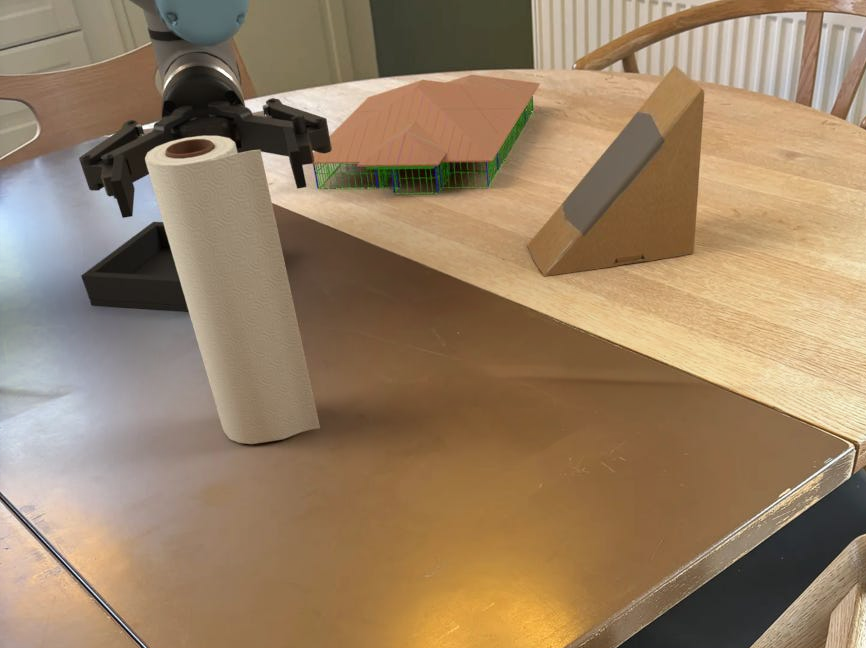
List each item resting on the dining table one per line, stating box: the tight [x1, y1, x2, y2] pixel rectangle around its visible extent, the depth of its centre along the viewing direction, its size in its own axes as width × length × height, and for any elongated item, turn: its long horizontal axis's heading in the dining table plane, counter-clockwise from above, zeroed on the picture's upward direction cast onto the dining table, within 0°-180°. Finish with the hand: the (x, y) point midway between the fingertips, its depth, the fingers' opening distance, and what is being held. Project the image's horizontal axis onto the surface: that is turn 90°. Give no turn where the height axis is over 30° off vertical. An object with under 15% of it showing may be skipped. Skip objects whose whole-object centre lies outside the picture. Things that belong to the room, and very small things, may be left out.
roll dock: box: [80, 221, 189, 312], centre depth 104 cm, size 14×14×3 cm
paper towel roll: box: [145, 136, 321, 445], centre depth 75 cm, size 7×6×21 cm
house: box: [311, 74, 541, 195], centre depth 127 cm, size 23×33×8 cm
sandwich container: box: [527, 64, 705, 277], centre depth 97 cm, size 9×15×15 cm, turn 100°
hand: (210, 184), depth 78 cm, fingers open, 13 cm apart
